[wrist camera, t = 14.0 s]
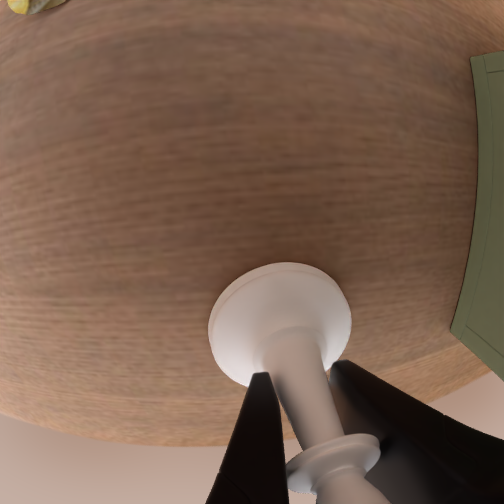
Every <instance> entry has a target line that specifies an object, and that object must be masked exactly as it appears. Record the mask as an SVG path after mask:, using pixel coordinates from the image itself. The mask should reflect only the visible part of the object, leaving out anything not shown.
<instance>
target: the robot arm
mask: <svg viewBox="0 0 504 504" xmlns="http://www.w3.org/2000/svg"><path fill="white" fill-rule="evenodd" d="M329 387H330V390H331V394H332V397H333V400H334V404H335V407H336V411H337V413H338V416H339V419H340V422H341V425H342V428H343V432H344V435H351V434H370V435H373V436H375V437H376V438H377V439H378V440H379V444H380V446H379V449H380V452H381V454H380V457H379V459H378V461H377V462H376V464H375V465H374V466H373V467H372V468H371V469H370V470H369V471H368V472H366V475H365V476H364V478H365V479H366V480H367V481H368V482H369V483H371V484H372V485H373V486H374V487H375V488H377V489H378V490H379V491H380V492H381V493H382V494H383V495H384V496H385V497H386V498H387V500H388V501H389V502H390V503H392V504H504V440H502V439H499V438H496V437H494V436H491V435H488V434H485V433H483V432H480V431H478V430H475V429H473V428H471V427H469V426H466V425H464V424H462V423H460V422H458V421H456V420H454V419H452V418H450V417H449V416H447V415H443V414H442V413H441V412H439V411H437V410H435V409H433V408H432V407H430V406H428V405H426V404H424V403H422V402H421V401H419V400H417V399H415V398H413V397H412V396H410V395H408V394H406V393H404V392H403V391H401V390H399V389H397V388H396V387H394V386H392V385H390V384H389V383H387V382H385V381H383V380H382V379H380V378H378V377H377V376H375V375H373V374H371V373H370V372H368V371H366V370H365V369H363V368H361V367H360V366H358V365H356V364H355V363H353V362H351V361H349V360H347V359H344V360H339V361H335V362H333V364H332V366H331V372H330V378H329ZM205 504H289V496H288V485H287V474H286V463H285V454H284V443H283V433H282V423H281V413H280V406H279V401H278V398H277V395H276V392H275V389H274V386H273V383H272V380H271V377H270V374H269V373H268V372H257V373H253V375H252V378H251V381H250V384H249V387H248V390H247V393H246V396H245V399H244V402H243V404H242V407H241V410H240V413H239V416H238V419H237V422H236V425H235V428H234V431H233V433H232V436H231V439H230V442H229V445H228V447H227V450H226V453H225V456H224V459H223V461H222V464H221V467H220V469H219V473H218V474H217V477H216V480H215V482H214V485H213V487H212V489H211V492H210V494H209V496H208V498H207V501H206V503H205Z"/></svg>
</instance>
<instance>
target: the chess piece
mask: <svg viewBox="0 0 504 504" xmlns="http://www.w3.org/2000/svg"><path fill="white" fill-rule="evenodd" d="M351 323H352V320H351V312H350V308H349V305H348V303H347V301H346V299H345V297H344V295H343V293H342V291H341V289H340V288H339V286H338V285H337V283H336V282H335V281H334V280H333V279H332V278H331V277H330V276H328V275H327V274H326V273H324V272H323V271H321V270H319V269H317V268H315V267H312V266H309V265H306V264H301V263H293V262H282V263H274V264H269V265H265V266H261V267H259V268H256V269H253V270H251V271H249V272H247V273H245V274H244V275H242V276H240V277H239V278H238V279H236V280H235V281H234V282H232V283H231V284H230V285H229V286H228V287H227V288H226V289H225V290H224V291H223V292H222V294H221V295H220V296H219V298H218V299H217V301H216V303H215V305H214V307H213V309H212V311H211V314H210V318H209V324H208V336H209V341H210V345H211V349H212V353H213V356H214V358H215V360H216V362H217V364H218V366H219V367H220V368H221V370H222V371H223V372H224V373H225V374H226V375H227V376H228V377H230V378H231V379H232V380H234V381H236V382H237V383H239V384H241V385H244V386H246V387H249V384H250V381H251V378H252V375H253V373H257V372H268V373H269V374H270V377H271V380H272V383H273V386H274V389H275V392H276V394H277V396H278V398H279V400H280V402H281V404H282V406H283V408H284V411H285V413H286V415H287V417H288V419H289V421H290V423H291V425H292V428H293V430H294V432H295V435H296V437H297V439H298V441H299V444H300V446H301V448H302V450H303V452H301V453H300V454H298V455H296V456H295V457H294V458H292V459H291V460H290V461H289V462H288V463H287V464H286V474H287V485H288V489H290V490H292V491H294V492H297V493H312V494H314V495H317V499H316V504H392V503H390V502H389V501H388V500H387V498H386V497H385V496H384V495H383V494H382V493H381V492H380V491H379V490H378V489H377V488H375V487H374V486H373V485H372V484H371V483H369V482H368V481H367V480H366V479H365V478H364V476H365V475H366V472H368V471H369V470H370V469H371V468H372V467H373V466H374V465H375V464H376V462H377V461H378V459H379V457H380V454H381V452H380V449H379V446H380V444H379V440H378V439H377V438H376V437H375V436H373V435H370V434H351V435H344V432H343V428H342V425H341V422H340V419H339V416H338V413H337V411H336V407H335V404H334V400H333V397H332V394H331V390H330V387H329V383H328V380H327V376H326V373H325V372H326V371H327V370H328V369H329V368H330V367H331V366H332V364H333V362H335V361H337V360H338V358H339V357H340V356H341V354H342V352H343V351H344V349H345V347H346V345H347V342H348V340H349V337H350V332H351Z"/></svg>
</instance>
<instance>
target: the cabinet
mask: <svg viewBox="0 0 504 504" xmlns="http://www.w3.org/2000/svg"><path fill="white" fill-rule="evenodd" d="M470 62H471V67H472V74H473V80H474V88H475V97H476V107H477V120H478V185H477V199H476V210H475V219H474V227H473V234H472V241H471V247H470V253H469V258H468V263H467V268H466V273H465V277H464V282H463V286H462V290H461V294H460V298H459V302H458V306H457V309H456V313H455V316H454V319H453V323H452V326H451V329H450V332H451V333H452V334H453V335H454V336H455V337H456V338H458V339H459V340H460V341H461V342H462V343H463V344H464V345H465V346H466V347H467V348H469V349H470V350H471V351H472V352H473V353H474V354H475V355H476V356H477V357H478V358H480V359H481V360H482V361H483V362H484V363H485V364H486V365H487V366H488V367H489V368H490V369H491V370H492V371H493V372H494V373H495V374H497V375H498V376H499V377H500V378H501V379H502V380H503V381H504V51H498V52H493V53H488V54H484V55H479V56H474V57H470Z"/></svg>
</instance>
